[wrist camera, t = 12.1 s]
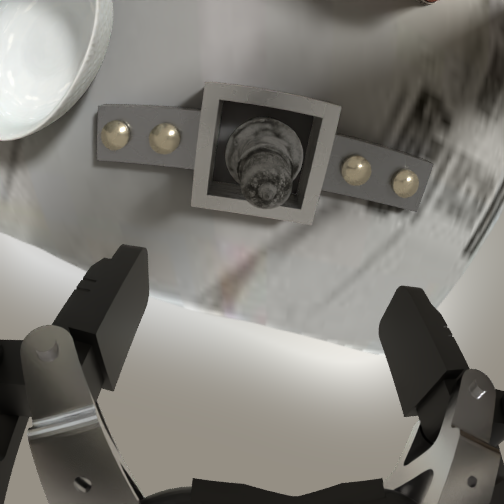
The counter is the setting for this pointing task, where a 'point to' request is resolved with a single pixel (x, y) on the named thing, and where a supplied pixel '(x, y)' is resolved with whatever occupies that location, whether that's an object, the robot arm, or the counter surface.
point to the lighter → (427, 2)
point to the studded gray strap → (230, 195)
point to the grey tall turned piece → (264, 160)
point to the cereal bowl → (48, 59)
